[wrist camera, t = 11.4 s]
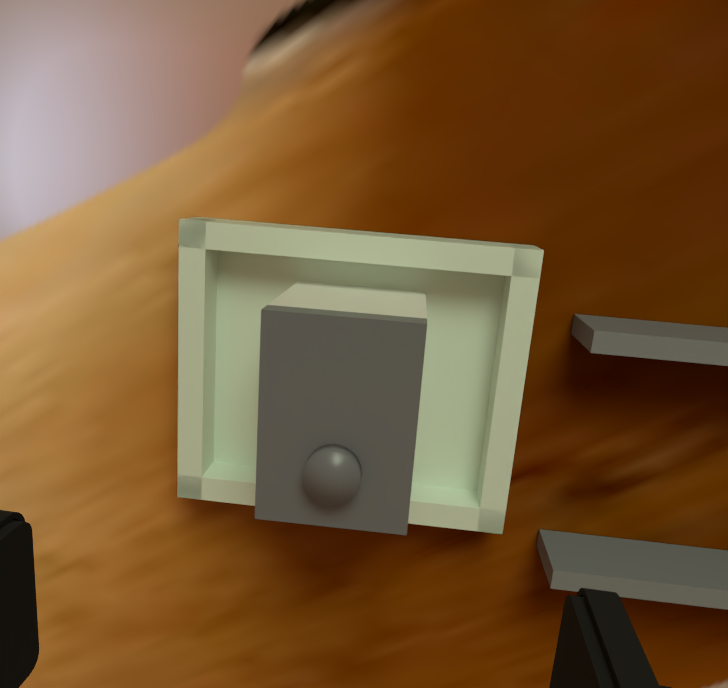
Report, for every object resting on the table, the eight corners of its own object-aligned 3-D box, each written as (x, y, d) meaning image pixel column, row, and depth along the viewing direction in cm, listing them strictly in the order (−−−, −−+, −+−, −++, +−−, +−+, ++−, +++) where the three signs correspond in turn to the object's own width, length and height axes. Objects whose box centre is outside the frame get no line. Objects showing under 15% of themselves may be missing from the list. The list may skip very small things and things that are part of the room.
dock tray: (534, 245, 24) (543, 250, 22) (496, 509, 27) (502, 534, 25) (197, 216, 25) (179, 219, 23) (194, 475, 28) (177, 496, 26)
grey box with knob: (425, 291, 24) (427, 328, 18) (409, 458, 26) (406, 545, 20) (298, 281, 25) (256, 313, 18) (290, 446, 27) (249, 528, 20)
